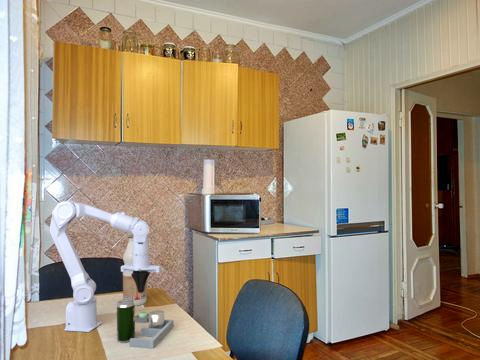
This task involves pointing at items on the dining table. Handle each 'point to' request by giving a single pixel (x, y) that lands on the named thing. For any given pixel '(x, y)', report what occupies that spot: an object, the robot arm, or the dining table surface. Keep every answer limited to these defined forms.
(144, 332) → the grey piece
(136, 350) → the dining table surface
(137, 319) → the button housing
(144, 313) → the button
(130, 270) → the robot arm
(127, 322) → the beer can
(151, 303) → the dining table surface
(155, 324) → the metal billet
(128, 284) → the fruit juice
